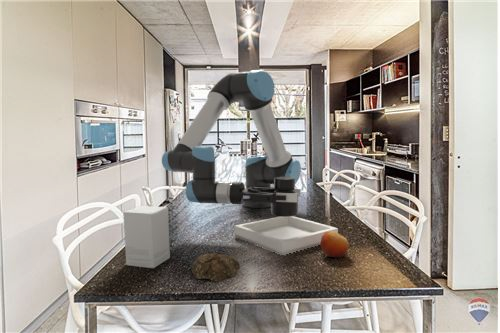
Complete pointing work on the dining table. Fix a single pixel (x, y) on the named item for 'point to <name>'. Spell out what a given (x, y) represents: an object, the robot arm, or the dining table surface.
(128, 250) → the supplement box
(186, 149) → the robot arm
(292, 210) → the ink bottle
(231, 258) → the brown lumpy mound
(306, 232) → the tray
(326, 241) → the fruit
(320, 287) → the dining table surface
